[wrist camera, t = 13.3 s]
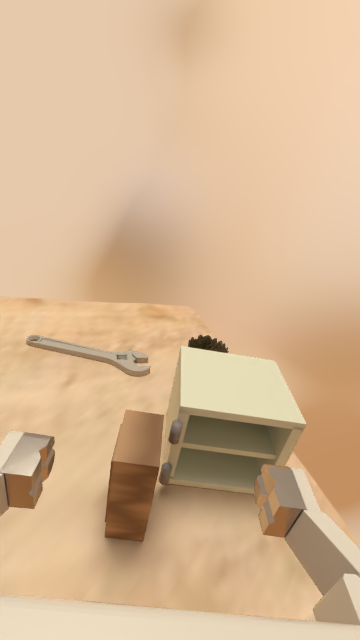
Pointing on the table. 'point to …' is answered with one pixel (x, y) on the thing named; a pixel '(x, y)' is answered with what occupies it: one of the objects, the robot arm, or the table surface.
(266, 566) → the table surface
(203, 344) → the brown hollow round piece
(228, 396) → the cabinet
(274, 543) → the table surface
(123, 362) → the adjustable wrench
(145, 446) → the brown wooden tall block
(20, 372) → the table surface
